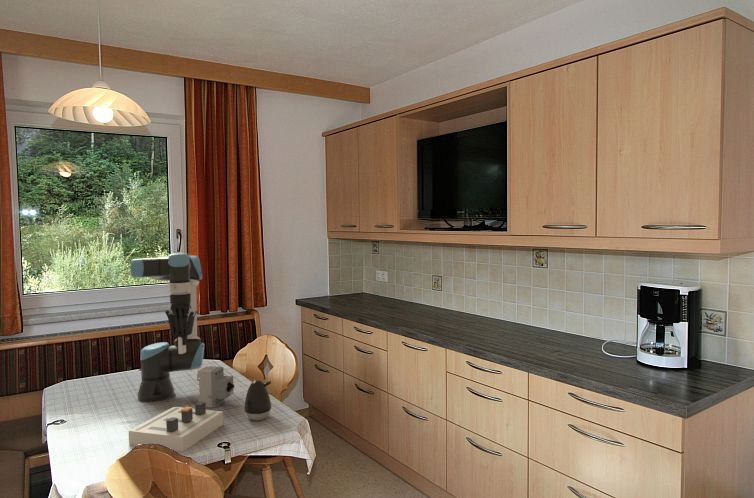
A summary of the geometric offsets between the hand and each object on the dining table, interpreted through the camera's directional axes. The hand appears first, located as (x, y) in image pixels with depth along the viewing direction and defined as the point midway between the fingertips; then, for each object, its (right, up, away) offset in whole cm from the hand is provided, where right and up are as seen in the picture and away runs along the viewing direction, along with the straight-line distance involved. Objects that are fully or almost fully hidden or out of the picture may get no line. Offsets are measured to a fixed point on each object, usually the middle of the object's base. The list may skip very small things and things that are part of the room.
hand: (182, 352), depth 200 cm
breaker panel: (+4, -27, -13) cm, 30 cm away
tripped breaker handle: (+7, -22, -14) cm, 27 cm away
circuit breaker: (+8, -26, +18) cm, 32 cm away
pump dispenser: (+30, -26, +1) cm, 39 cm away
